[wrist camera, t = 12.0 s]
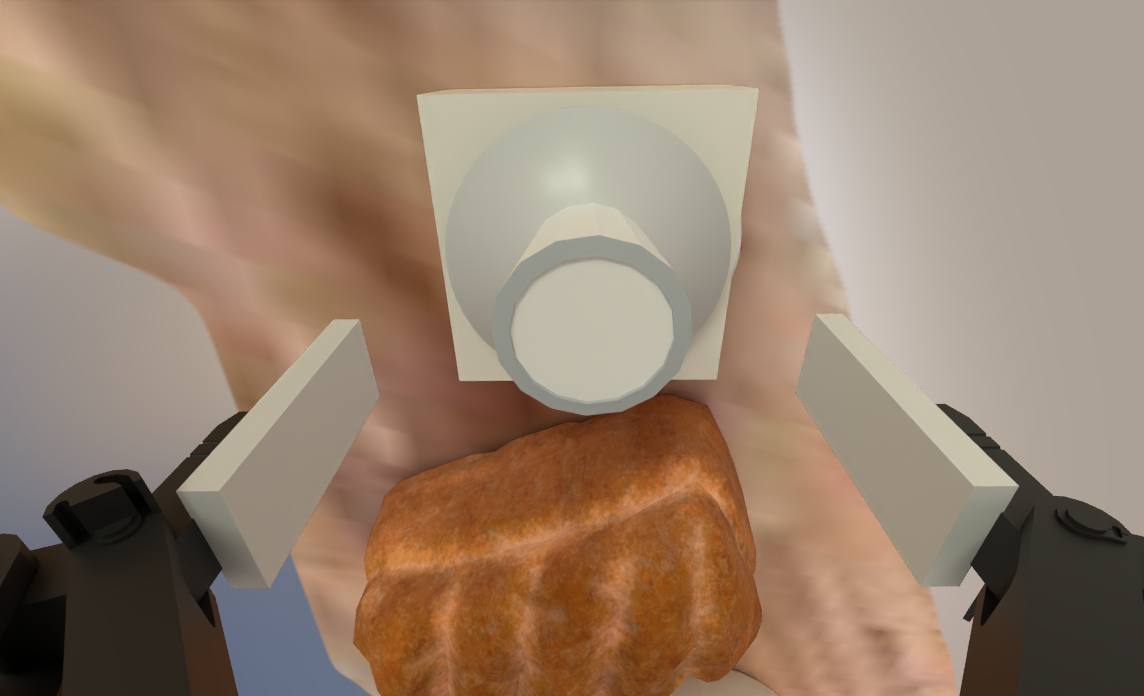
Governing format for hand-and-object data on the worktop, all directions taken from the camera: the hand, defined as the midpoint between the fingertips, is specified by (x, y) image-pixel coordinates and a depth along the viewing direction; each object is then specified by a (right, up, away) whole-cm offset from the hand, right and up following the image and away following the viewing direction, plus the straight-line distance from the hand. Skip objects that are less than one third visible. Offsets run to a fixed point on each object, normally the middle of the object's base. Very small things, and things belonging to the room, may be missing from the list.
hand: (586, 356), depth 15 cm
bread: (-1, -11, +25) cm, 27 cm away
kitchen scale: (0, +8, +14) cm, 16 cm away
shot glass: (0, +4, +8) cm, 9 cm away
